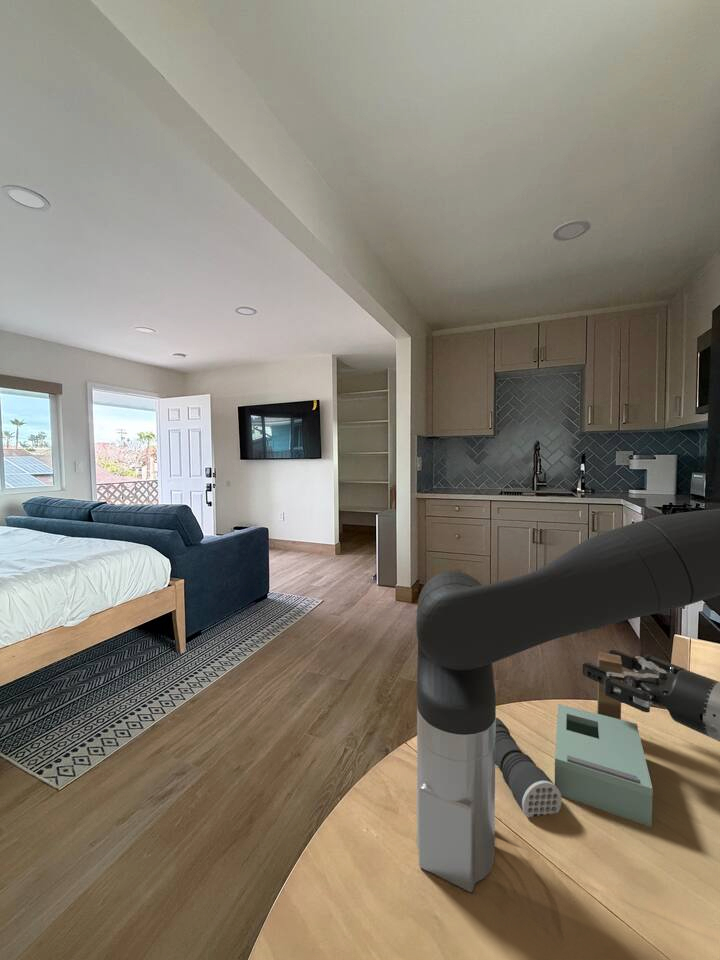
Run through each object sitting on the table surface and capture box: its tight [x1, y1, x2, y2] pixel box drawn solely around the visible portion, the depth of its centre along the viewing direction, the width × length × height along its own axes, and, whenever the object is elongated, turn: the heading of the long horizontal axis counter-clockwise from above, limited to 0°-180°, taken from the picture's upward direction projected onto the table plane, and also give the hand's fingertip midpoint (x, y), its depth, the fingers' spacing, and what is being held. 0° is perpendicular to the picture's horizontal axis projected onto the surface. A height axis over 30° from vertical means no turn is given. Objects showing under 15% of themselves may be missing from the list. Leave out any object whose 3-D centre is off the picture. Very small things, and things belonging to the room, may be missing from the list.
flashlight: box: [495, 717, 563, 819], centre depth 59 cm, size 15×5×5 cm, turn 9°
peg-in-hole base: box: [554, 703, 654, 828], centre depth 59 cm, size 14×11×6 cm
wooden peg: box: [596, 651, 623, 720], centre depth 67 cm, size 3×3×14 cm
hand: (597, 661), depth 68 cm, fingers open, 8 cm apart
